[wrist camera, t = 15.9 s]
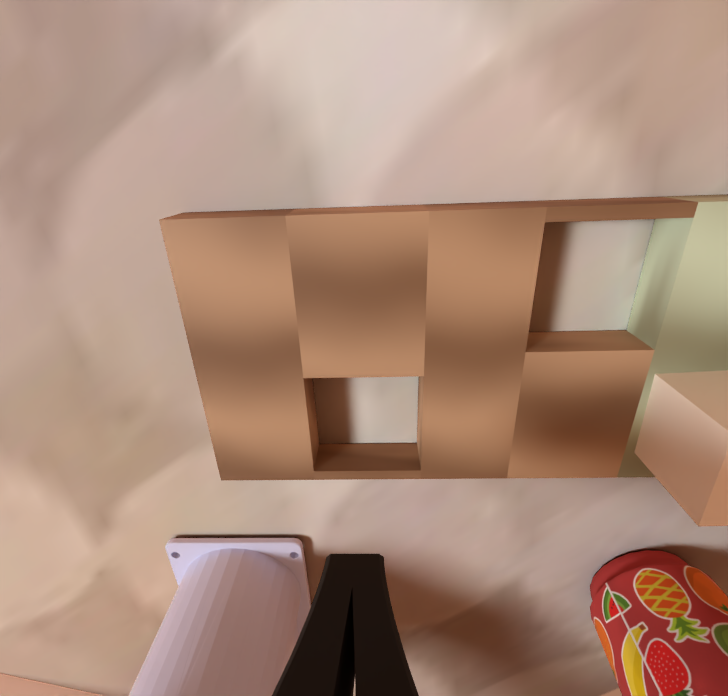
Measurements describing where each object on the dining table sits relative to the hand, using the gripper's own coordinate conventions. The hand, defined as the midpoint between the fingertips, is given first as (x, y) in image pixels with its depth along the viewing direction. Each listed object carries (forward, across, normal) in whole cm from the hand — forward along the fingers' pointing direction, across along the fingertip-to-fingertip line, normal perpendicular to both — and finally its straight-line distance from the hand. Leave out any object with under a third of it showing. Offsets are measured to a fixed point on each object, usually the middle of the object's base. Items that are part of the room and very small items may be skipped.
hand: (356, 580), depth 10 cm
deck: (+10, -5, -2) cm, 11 cm away
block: (+8, -14, 0) cm, 16 cm away
